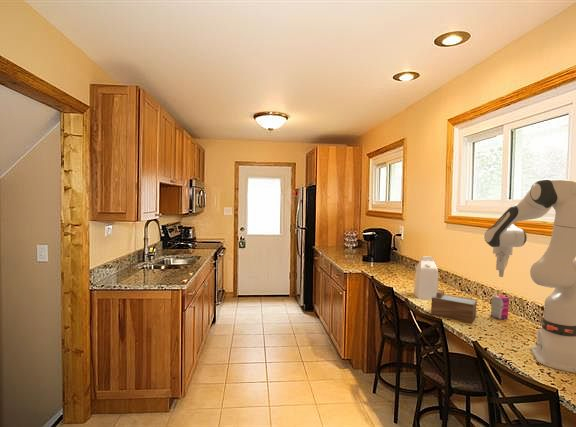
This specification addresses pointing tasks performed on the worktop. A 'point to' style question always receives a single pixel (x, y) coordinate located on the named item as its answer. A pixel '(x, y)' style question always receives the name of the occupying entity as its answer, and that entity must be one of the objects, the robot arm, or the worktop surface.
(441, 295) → the lid
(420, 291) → the milk
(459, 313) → the wooden box
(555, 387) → the worktop surface
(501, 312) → the supplement box
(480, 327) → the worktop surface
